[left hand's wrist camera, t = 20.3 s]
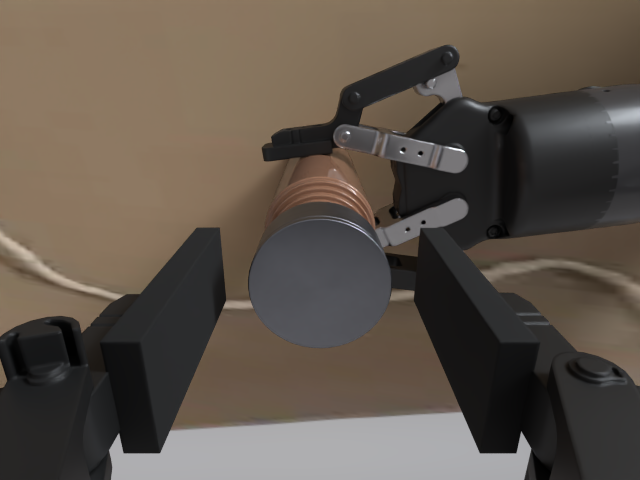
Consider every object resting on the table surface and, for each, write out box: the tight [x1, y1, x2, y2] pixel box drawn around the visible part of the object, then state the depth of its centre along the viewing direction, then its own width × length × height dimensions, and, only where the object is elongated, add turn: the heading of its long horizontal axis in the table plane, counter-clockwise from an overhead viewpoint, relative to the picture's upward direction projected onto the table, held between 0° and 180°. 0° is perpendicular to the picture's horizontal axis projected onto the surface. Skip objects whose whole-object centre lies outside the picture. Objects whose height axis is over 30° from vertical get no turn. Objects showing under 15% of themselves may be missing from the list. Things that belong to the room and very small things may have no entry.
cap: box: [248, 202, 392, 348], centre depth 14 cm, size 4×4×2 cm
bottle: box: [265, 148, 375, 230], centre depth 21 cm, size 5×5×17 cm
